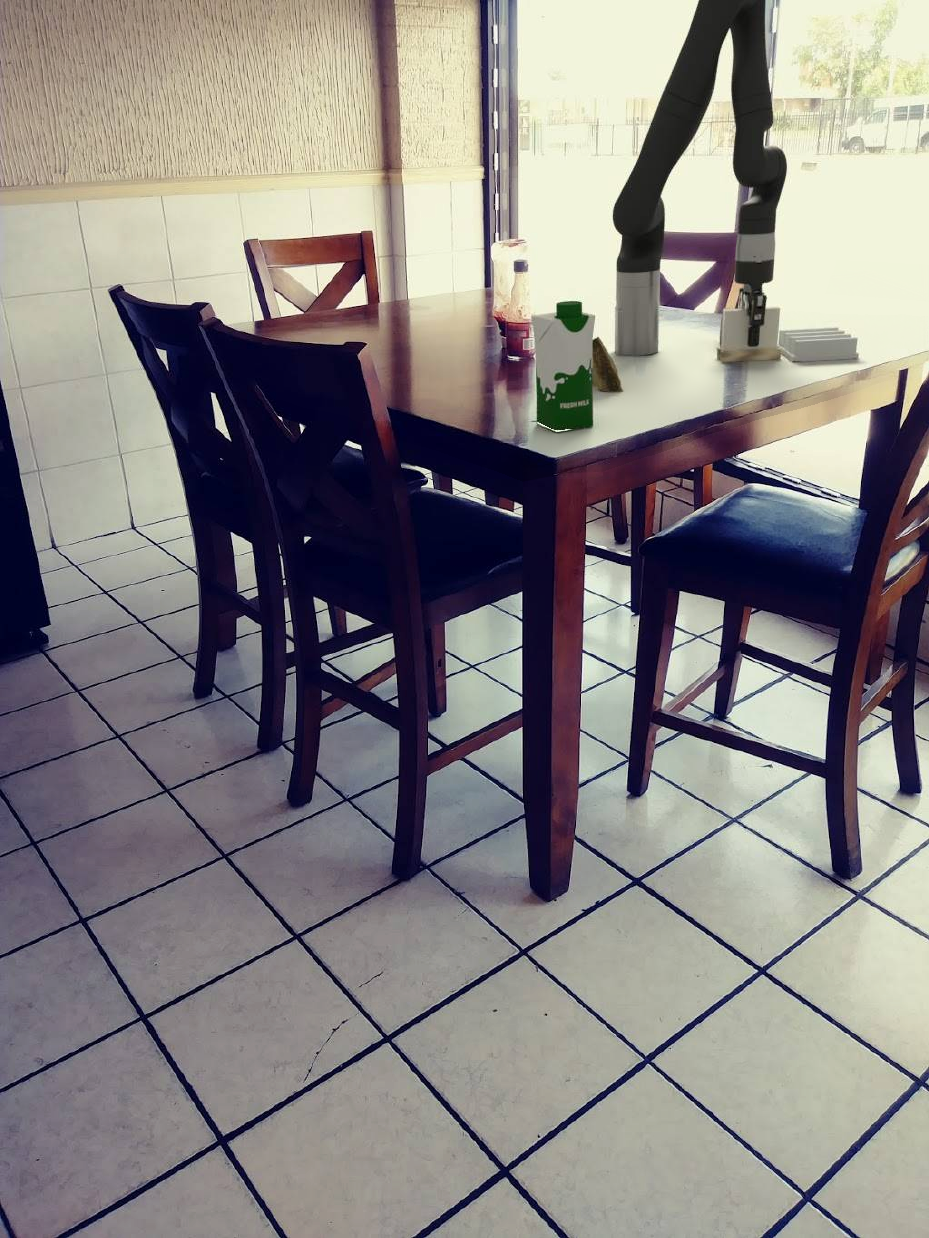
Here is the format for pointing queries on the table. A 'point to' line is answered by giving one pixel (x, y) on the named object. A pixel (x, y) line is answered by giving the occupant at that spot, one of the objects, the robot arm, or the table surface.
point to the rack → (817, 344)
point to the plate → (738, 330)
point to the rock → (604, 368)
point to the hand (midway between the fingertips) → (749, 343)
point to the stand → (748, 355)
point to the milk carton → (564, 366)
